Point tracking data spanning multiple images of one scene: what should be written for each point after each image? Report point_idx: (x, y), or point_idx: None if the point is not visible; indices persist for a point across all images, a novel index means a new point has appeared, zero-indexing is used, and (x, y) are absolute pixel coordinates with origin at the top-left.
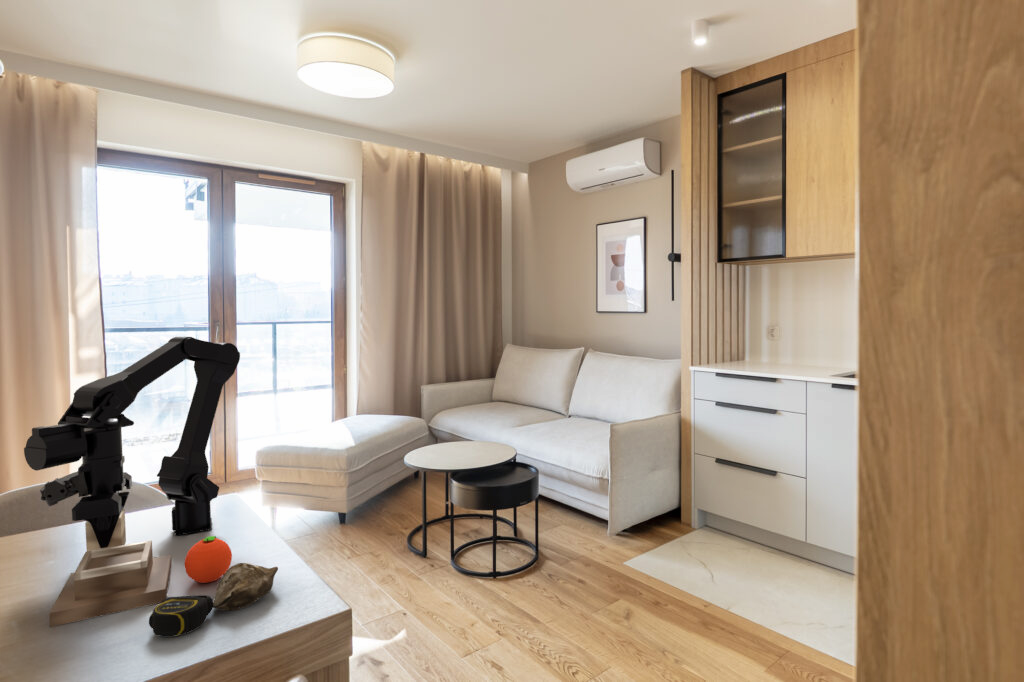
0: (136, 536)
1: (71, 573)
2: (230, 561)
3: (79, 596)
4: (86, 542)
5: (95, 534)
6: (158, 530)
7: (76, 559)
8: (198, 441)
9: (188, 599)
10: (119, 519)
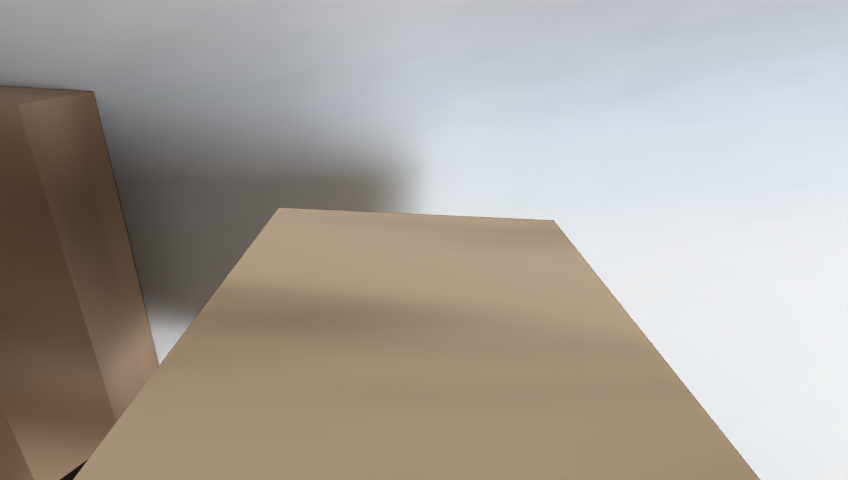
0: (801, 371)
1: (3, 110)
2: None
3: None
4: (222, 284)
5: (72, 473)
6: (797, 455)
7: (649, 59)
8: None
9: None
10: None
